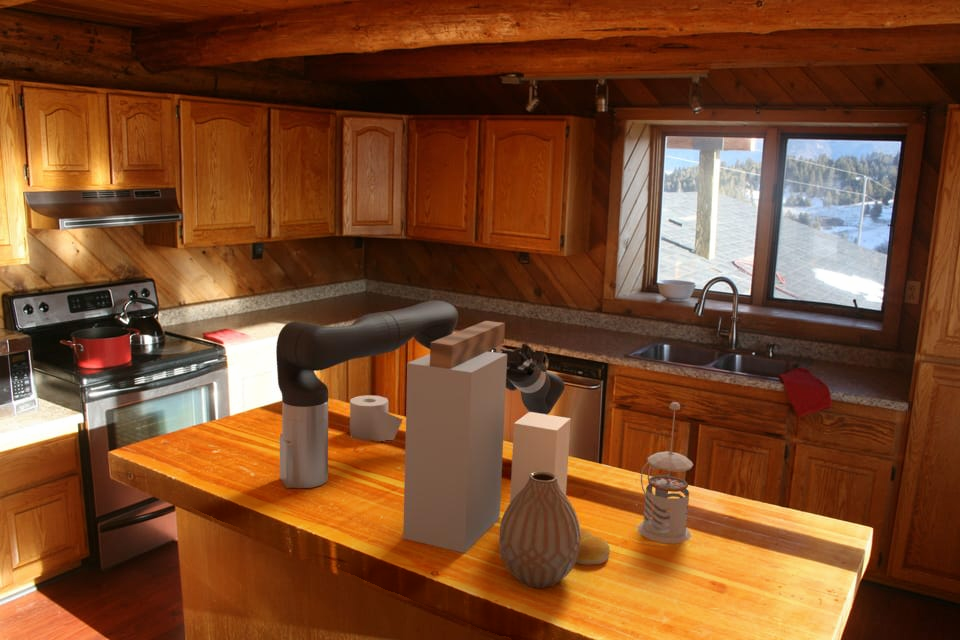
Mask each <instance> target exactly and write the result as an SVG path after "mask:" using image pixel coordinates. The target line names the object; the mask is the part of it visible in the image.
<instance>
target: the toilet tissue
mask: <svg viewBox="0 0 960 640" xmlns="http://www.w3.org/2000/svg"><path fill="white" fill-rule="evenodd" d="M349 404H350V405H349V419H350V420H349V436H352V437H353V438H352V437H351V438H352V439H355V438H356V439H355V440H358V439H360V440H359V441H368V440H374V441H373V442H381V441H383V442H386V441H385V440H393V439H394V440H395V438H396V435H397V433H398V431H399V429H400V427H401V425H402V422H403V420H404V419H403V418H400V417H397V416H395V415H392V414H391V413H389V400H388V398H387V397H384V396H380V395H372V394H371V395H367V394H365V395H358V396H355V397H353V398H350V400H349ZM394 440H393V441H394Z"/></svg>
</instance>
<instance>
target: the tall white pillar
mask: <svg viewBox="0 0 960 640" xmlns="http://www.w3.org/2000/svg"><path fill="white" fill-rule="evenodd" d="M406 369H407V370H406V372H407V373H406V402H405V404H406V407H405V408H406V410H405V413H406V414H405V418H406V419H405V443H404V444H405V445H404V447H405V448H404V451H405V455H404V461H405V462H404V483H403V484H404V485H403V486H404V487H403V488H404V489H403V490H404V491H403V493H404V494H403V530H402V531H403V533H402V539H404V540H408V541H413V542H418V543H421V544H425V545H429V546H432V547H433V546H434V547H438V548H441V549H445V550H450V551H455V552H458V553H463V554H465V553H467V552H468V551H469V550H470V548H471V547H473V545H474V544H475V543H476V542H477V541H478V540H480V538H482V537H483V535H485V533H486V532H487V531H488V530H489V529H490V528H492V527H493V526H494V524H496V523H497V522H498V521H499V520H500V519H501V518H500V515H501V514H500V512H501V495H502V494H501V493H502V477H503V476H502V475H503V474H502V472H503V471H502V470H503V455H504V453H503V451H504V430H505V410H506V409H505V407H506V389H507V388H506V369H507V354H503V353H495V352H488V351H487V352H485V353H483V354H481V355H478V356H476V357H474V358H472V359H470V360H468V361H466V362H464V363H462V364H460V365H458V366H456V367H454V368H451V369H450V368H443V367H436V366H430V353H429V354H426V355H423V356H421V357H418V358H416V359H413V360H411V361H410V362H407V366H406Z"/></svg>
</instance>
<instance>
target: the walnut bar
mask: <svg viewBox="0 0 960 640" xmlns="http://www.w3.org/2000/svg"><path fill="white" fill-rule="evenodd" d="M505 328H506V322H501V321H499V322H498V321H492V320H484V321H482V322H479V323H476V324H474V325H472V326H468V327H467V328H464V329H462V330H459V331H456V332H453V333H452V334H451V335H448V336H446V337H443V338H440V339H438V340H435V341H433V342H430V349H429V354H430V366H436V367H443V368H450V369H451V368H454V367H456V366H458V365H460V364H462V363H464V362H466V361H468V360H470V359H472V358H474V357H476V356H478V355H481V354H483V353H485V352H487V351H489V350H491V349H493V348H495V347H497V346H501V345H503V344H505V332H506V331H505V330H506V329H505Z"/></svg>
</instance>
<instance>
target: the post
mask: <svg viewBox="0 0 960 640" xmlns="http://www.w3.org/2000/svg"><path fill="white" fill-rule="evenodd" d="M571 420H572V419H571V418H570V417H565V416H558V415H557V416H556V415H552V414H551V415H550V414H547V415H546V414H540V413H534V412H529V411H528V412H527V413H526V414H525V415H523V416H522V417H520V418H519V419H518V420H516V421H515V422H514V423H513V437H512V453H511V454H512V458H511V477H510V494H509V495H510V497H509V504H510V503H511V501H512V500H513V499H514V497H515V496H516V495H517V494H518V493H519V492H520V491H521V490H522V489H523V488H524V487H525V485H526V484H527V482H528V480H529V475H530V474H531V473H533V472H539V471H543V472H549V473H552V474H554V475H556V476H557V482H558V485H559V487H560V489H561V490H562V492H563V493H564V494H565V496H566V497H567V482H568V466H569V450H570V435H571Z"/></svg>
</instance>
